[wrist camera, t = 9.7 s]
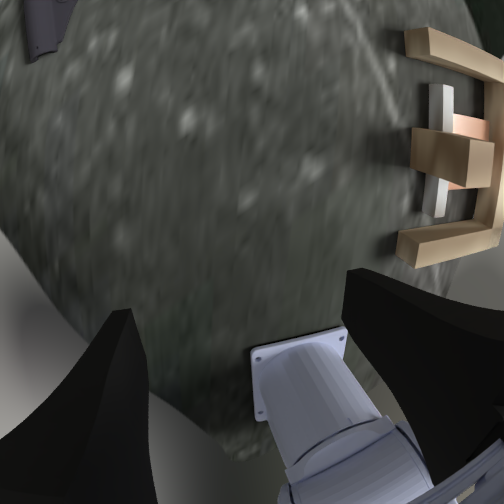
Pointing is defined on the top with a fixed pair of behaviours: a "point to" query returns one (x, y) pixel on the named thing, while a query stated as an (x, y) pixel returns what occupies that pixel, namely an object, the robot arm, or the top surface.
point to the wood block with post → (447, 153)
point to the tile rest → (500, 132)
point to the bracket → (46, 24)
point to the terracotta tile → (469, 133)
